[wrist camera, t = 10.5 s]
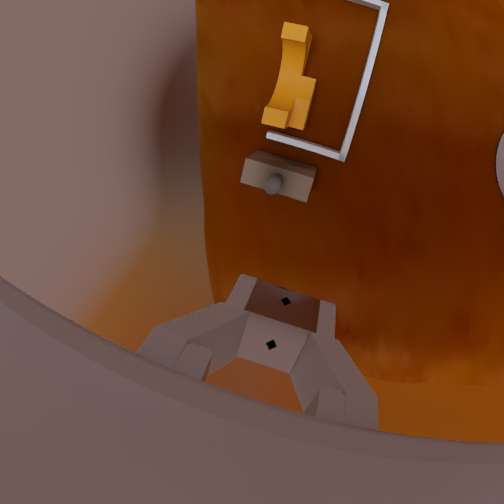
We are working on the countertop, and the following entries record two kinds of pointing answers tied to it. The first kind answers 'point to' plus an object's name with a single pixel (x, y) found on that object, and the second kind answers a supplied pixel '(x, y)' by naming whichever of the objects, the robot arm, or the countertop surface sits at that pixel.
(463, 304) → the countertop surface
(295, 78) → the pipe clamp
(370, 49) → the grey staple-shaped wire
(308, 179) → the block
